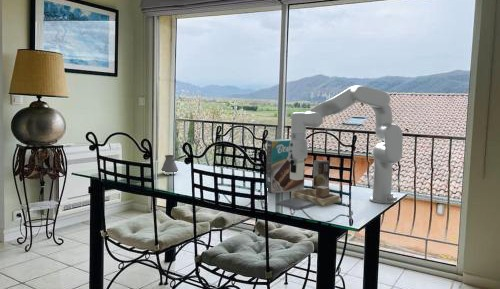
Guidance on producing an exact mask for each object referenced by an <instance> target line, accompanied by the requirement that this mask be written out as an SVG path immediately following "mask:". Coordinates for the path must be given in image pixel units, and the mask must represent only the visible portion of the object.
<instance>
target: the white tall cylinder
mask: <svg viewBox="0 0 500 289" xmlns="http://www.w3.org/2000/svg"><path fill="white" fill-rule="evenodd" d="M293 159H294V158H293ZM293 162H294V160H293ZM295 165H296V173H292V172H291V165H290V179H293V180H302V179H304V180H305V169H304V159H298V160H296V164H295Z"/></svg>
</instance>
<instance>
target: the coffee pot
mask: <svg viewBox="0 0 500 289" xmlns="http://www.w3.org/2000/svg"><path fill="white" fill-rule="evenodd" d="M186 155H187V154H184V155H181V156H180V157H177V158H174V157H175V155H174V154H166V155H164V157H165V160H164V162H163V164H162V167H161V170H162V171H165V172H177V171H178V172H179V168H178V166H177V164H176V162H175V161H177V160H180V159H184V158H185V157H186V158H187V156H186ZM161 170H160V171H161ZM178 172H177V173H178Z"/></svg>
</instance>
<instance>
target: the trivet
mask: <svg viewBox="0 0 500 289" xmlns="http://www.w3.org/2000/svg"><path fill="white" fill-rule="evenodd" d="M276 203H277V205H279V206H283V207H286V208H290V209H294V210H296V211H298V210H303V209H306V208H309V207H314V206H316V203H314V202H310V201H307V200H303V199H299V198H291V197H290V198H288V199H287V198H286V199H283V200H279V201H277V202H276Z"/></svg>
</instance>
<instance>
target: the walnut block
mask: <svg viewBox="0 0 500 289" xmlns="http://www.w3.org/2000/svg"><path fill="white" fill-rule="evenodd" d="M315 190H316V197H317V198H321V199H325V198H329V193H330V187H329V186H328V187H325V186H318V187H316V188H315Z"/></svg>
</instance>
